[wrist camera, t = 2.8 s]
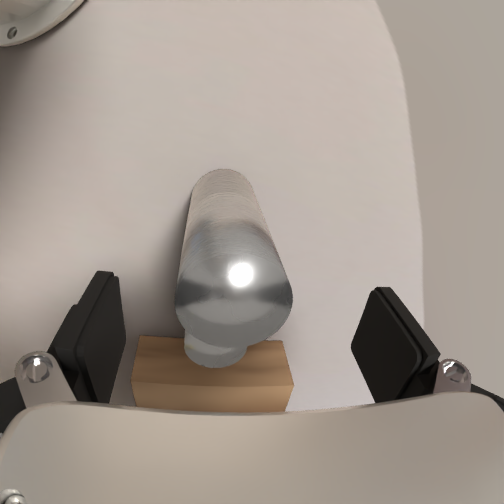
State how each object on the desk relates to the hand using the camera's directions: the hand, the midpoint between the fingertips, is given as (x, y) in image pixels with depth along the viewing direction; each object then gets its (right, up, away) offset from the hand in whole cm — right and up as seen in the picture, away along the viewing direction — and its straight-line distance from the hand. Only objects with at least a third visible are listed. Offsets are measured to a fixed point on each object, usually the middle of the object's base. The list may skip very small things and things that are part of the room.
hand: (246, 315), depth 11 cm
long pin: (-2, +6, +9) cm, 11 cm away
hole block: (-4, -14, +19) cm, 24 cm away
